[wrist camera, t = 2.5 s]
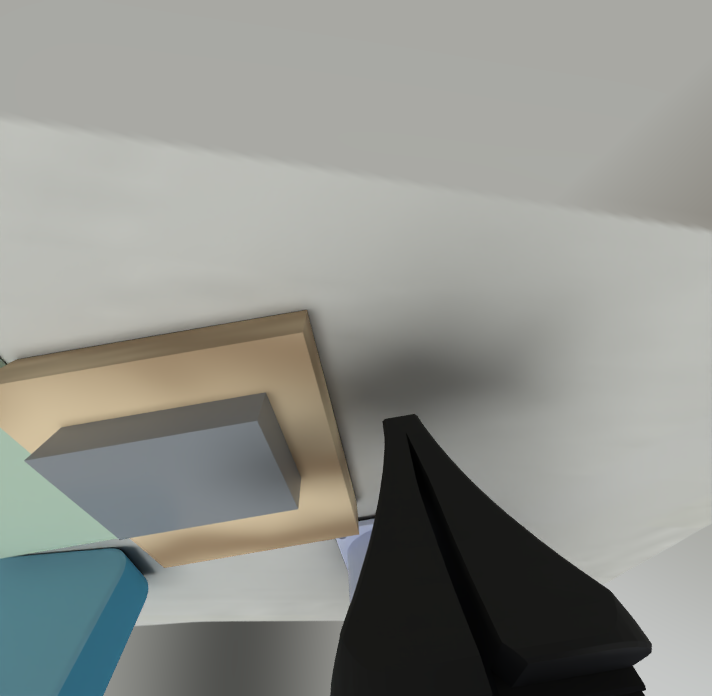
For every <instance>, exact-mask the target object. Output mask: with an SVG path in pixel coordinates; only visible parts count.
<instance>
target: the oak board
mask: <svg viewBox="0 0 712 696" xmlns="http://www.w3.org/2000/svg"><path fill="white" fill-rule="evenodd" d="M264 392H266V393H267V396H268V398H269V401H270V403H271V406H272V408H273V410H274V413H275V415H276V418H277V420H278V423H279V425H280V427H281V430H282V432H283V435H284V437H285V440H286V442H287V444H288V447H289V449H290V452H291V454H292V457H293V459H294V461H295V464H296V466H297V469H298V471H299V474H300V476H301V487H300V498H299V508H298V509H297V510H291V511H285V512H279V513H273V514H267V515H262V516H256V517H250V518H244V519H238V520H232V521H227V522H221V523H215V524H209V525H203V526H197V527H192V528H186V529H180V530H174V531H168V532H163V533H157V534H151V535H145V536H139V537H133V538H130V539H131V540H132V541H134V542H135V543H136V544H137V545H138V546H139V547H141V548H142V549H143V550H144V551H145V552H146V553H148V554H149V555H150V556H151V557H152V558H153V559H155V560H156V561H157V562H158V563H159V564H160V565H162V566H163V567H164V568H167V567H173V566H179V565H184V564H190V563H196V562H202V561H208V560H213V559H219V558H225V557H231V556H237V555H243V554H248V553H254V552H260V551H266V550H272V549H277V548H283V547H289V546H295V545H301V544H307V543H312V542H318V541H324V540H330V539H336V538H342V537H347V536H353V535H359V525H358V514H357V503H356V498H355V494H354V490H353V487H352V483H351V479H350V475H349V471H348V467H347V463H346V459H345V456H344V452H343V448H342V444H341V440H340V436H339V432H338V429H337V425H336V421H335V417H334V413H333V409H332V405H331V401H330V398H329V394H328V390H327V386H326V382H325V378H324V374H323V371H322V367H321V363H320V359H319V355H318V351H317V347H316V343H315V340H314V336H313V332H312V328H311V324H310V320H309V316H308V312H307V310H304V311H298V312H292V313H286V314H280V315H274V316H269V317H263V318H257V319H251V320H245V321H239V322H234V323H228V324H222V325H216V326H210V327H204V328H199V329H193V330H187V331H181V332H175V333H169V334H164V335H158V336H152V337H146V338H140V339H134V340H128V341H123V342H117V343H111V344H105V345H99V346H93V347H88V348H82V349H76V350H70V351H64V352H58V353H53V354H47V355H41V356H35V357H29V358H23V359H18V360H14V361H13V362H11V363H9V364H7V365H5V366H3V367H2V368H0V428H1V429H2V430H4V431H5V432H6V433H7V434H8V435H9V436H11V437H12V438H13V439H14V440H15V441H16V442H18V443H19V444H20V445H21V446H22V447H24V448H25V449H26V450H27V451H28V452H29V453H31V454H32V453H33V452H34V451H35V450H36V449H38V448H39V447H40V446H41V445H42V444H43V443H44V442H45V441H47V440H48V439H49V438H50V437H51V436H52V435H53V434H54V433H56V432H57V431H58V430H59V429H60V428H61V427H66V426H72V425H78V424H84V423H89V422H95V421H101V420H107V419H113V418H119V417H124V416H130V415H136V414H142V413H148V412H154V411H159V410H165V409H171V408H177V407H183V406H189V405H194V404H200V403H206V402H212V401H218V400H224V399H229V398H235V397H241V396H247V395H253V394H259V393H264Z"/></svg>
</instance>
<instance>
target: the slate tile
mask: <svg viewBox="0 0 712 696" xmlns="http://www.w3.org/2000/svg"><path fill="white" fill-rule="evenodd" d="M24 461H25V462H26V463H27V464H28V465H29V466H31V467H32V468H33V469H34V470H36V471H37V472H38V473H39V474H40V475H42V476H43V477H44V478H45V479H46V480H48V481H49V482H50V483H51V484H53V485H54V486H55V487H56V488H57V489H59V490H60V491H61V492H62V493H63V494H65V495H66V496H67V497H68V498H70V499H71V500H72V501H73V502H74V503H76V504H77V505H78V506H79V507H81V508H82V509H83V510H84V511H85V512H87V513H88V514H89V515H90V516H91V517H93V518H94V519H95V520H96V521H98V522H99V523H100V524H101V525H102V526H104V527H105V528H106V529H107V530H108V531H110V532H111V533H112V534H113V535H115V536H116V537H117V538H118V539H119V540H122V539H128V538H133V537H139V536H145V535H151V534H157V533H163V532H168V531H174V530H180V529H186V528H192V527H197V526H203V525H209V524H215V523H221V522H227V521H232V520H238V519H244V518H250V517H256V516H262V515H267V514H273V513H279V512H285V511H291V510H297V509H298V508H299V498H300V487H301V476H300V474H299V471H298V469H297V466H296V464H295V461H294V459H293V457H292V454H291V452H290V449H289V447H288V444H287V442H286V440H285V437H284V435H283V432H282V430H281V427H280V425H279V423H278V420H277V418H276V415H275V413H274V410H273V408H272V406H271V403H270V401H269V398H268V396H267V393H266V392H264V393H259V394H253V395H247V396H241V397H235V398H229V399H224V400H218V401H212V402H206V403H200V404H194V405H189V406H183V407H177V408H171V409H165V410H159V411H154V412H148V413H142V414H136V415H130V416H124V417H119V418H113V419H107V420H101V421H95V422H89V423H84V424H78V425H72V426H66V427H61V428H60V429H59V430H58V431H57V432H56V433H54V434H53V435H52V436H51V437H50V438H49V439H48V440H47V441H45V442H44V443H43V444H42V445H41V446H40V447H39V448H38V449H36V450H35V451H34V452H33V453H32V454H31V455H30V456H29V457H27V458H26V459H25V460H24Z"/></svg>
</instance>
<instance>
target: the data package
mask: <svg viewBox="0 0 712 696" xmlns="http://www.w3.org/2000/svg"><path fill="white" fill-rule="evenodd" d="M147 594H148V582H147V580H146V578H145V577H144V576H143V575H142V574H141V572H140V571H139V570H138V569H137V568H136V567H135V565H134V564H133V563H132V562H131V561H130V560H129V559H128V557H127V556H126V555H125V554H124V553H123V552H122V551H121V550H119V549H116V548H107V549H95V550H84V551H72V552H61V553H49V554H38V555H26V556H15V557H7V558H1V559H0V696H103V695H104V692H105V690H106V688H107V686H108V683H109V681H110V679H111V677H112V674H113V672H114V670H115V668H116V666H117V663H118V661H119V659H120V656H121V654H122V652H123V650H124V648H125V645H126V643H127V641H128V638H129V636H130V634H131V632H132V630H133V627H134V625H135V623H136V621H137V618H138V616H139V614H140V612H141V609H142V607H143V605H144V603H145V600H146V598H147Z"/></svg>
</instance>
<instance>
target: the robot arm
mask: <svg viewBox="0 0 712 696" xmlns="http://www.w3.org/2000/svg"><path fill="white" fill-rule="evenodd" d="M383 429H384V437H385V450H384V464H383V473H382V481H381V488H380V494H379V500H378V505H377V510H376V515H375V519H369V520H363V521H358V525H359V535H353V536H347V537H342V538H336V541H337V543H338V546H339V549H340V551H341V554H342V557H343V559H344V562H345V565H346V567H347V570H348V576H349V596H350V606H349V609H348V612H347V615H346V618H345V621H344V624H343V626H342V629H341V633H340V639H339V644H338V648H337V653H336V658H335V663H334V669H333V675H332V682H331V695H330V696H645V695H644V694H643V692H642V691H644V690H646V688H645V685H644V683H643V682H642V680H641V678H640V677H639V675H638V674H637V672H636V670H635V669H634V667H633V665H634V664H636V663H638V662H639V661H641V660H642V659H644V658H645V657H647V656H648V655H649V654H650V653H651V650H652V648H651V647H652V644H651V642H650V641H649V639H648V638H647V637H646V635H645V634H644V632H643V631H642V630H641V628H640V627H639V625H638V624H637V623H636V621H635V620H634V619H633V618H632V616H631V615H630V614H629V613H628V611H627V610H626V609H625V608H624V607H623V605H622V604H621V603H620V602H619V601H618V599H617V598H616V597H615V596H614V594H613V593H612V592H611V591H610V590H609V589H607V588H606V587H604V586H603V585H601V584H600V583H598V582H597V581H596V580H594V579H593V578H591V577H590V576H588V575H587V574H585V573H584V572H583V571H581V570H580V569H578V568H577V567H576V566H574V565H573V564H571V563H570V562H568V561H567V560H566V559H564V558H563V557H562V556H560V555H559V554H558V553H556V552H555V551H554V550H552V549H551V548H550V547H548V546H547V545H546V544H544V543H543V542H542V541H540V540H539V539H538V538H537V537H535V536H534V535H533V534H532V533H530V532H529V531H528V530H527V529H525V528H524V527H523V526H522V525H520V524H519V523H518V522H517V521H515V520H514V519H513V518H512V517H510V516H509V515H508V514H507V513H506V512H505V511H504V510H502V509H501V508H500V507H499V506H498V505H497V504H496V503H494V502H493V501H492V500H491V499H490V498H489V497H488V496H487V495H486V494H485V493H484V492H482V491H481V490H480V489H479V488H478V487H477V486H476V485H475V484H474V483H473V482H472V481H471V480H470V479H469V478H468V477H467V476H466V475H465V474H464V473H463V472H462V471H461V470H460V469H459V467H458V466H457V465H456V464H455V463H454V462H453V461H452V460H451V459H450V458H449V456H448V455H447V454H446V453H445V452H444V451H443V449H442V448H441V447H440V446H439V445H438V443H437V442H436V441H435V440H434V439H433V437H432V436H431V435H430V433H429V432H428V431H427V429H426V428H425V427H424V425H423V424H422V422H421V421H420V419H419V418H418V416H417V415H415V414H412V415H406V416H400V417H394V418H388V419H385V420H384V421H383Z"/></svg>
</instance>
